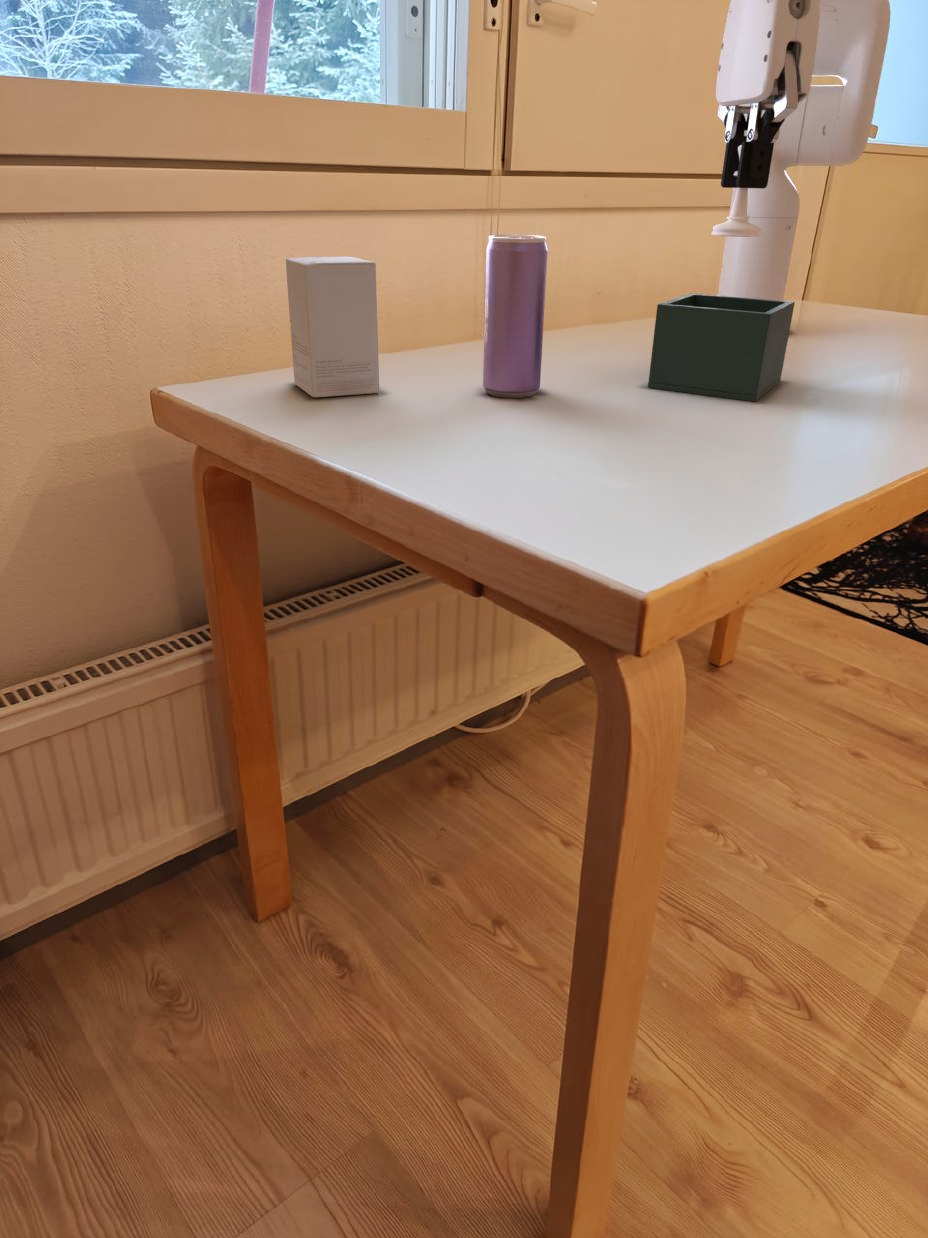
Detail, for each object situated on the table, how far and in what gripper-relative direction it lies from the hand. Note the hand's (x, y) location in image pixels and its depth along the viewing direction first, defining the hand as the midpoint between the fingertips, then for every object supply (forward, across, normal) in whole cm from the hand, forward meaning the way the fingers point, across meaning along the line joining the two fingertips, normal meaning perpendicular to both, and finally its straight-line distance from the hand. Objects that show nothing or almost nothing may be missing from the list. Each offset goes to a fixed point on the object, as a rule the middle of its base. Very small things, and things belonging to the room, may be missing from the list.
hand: (743, 186), depth 87 cm
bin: (+20, 0, 0) cm, 20 cm away
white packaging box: (+20, +5, +41) cm, 46 cm away
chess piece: (+5, 0, 0) cm, 5 cm away
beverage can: (+20, 0, +24) cm, 31 cm away
